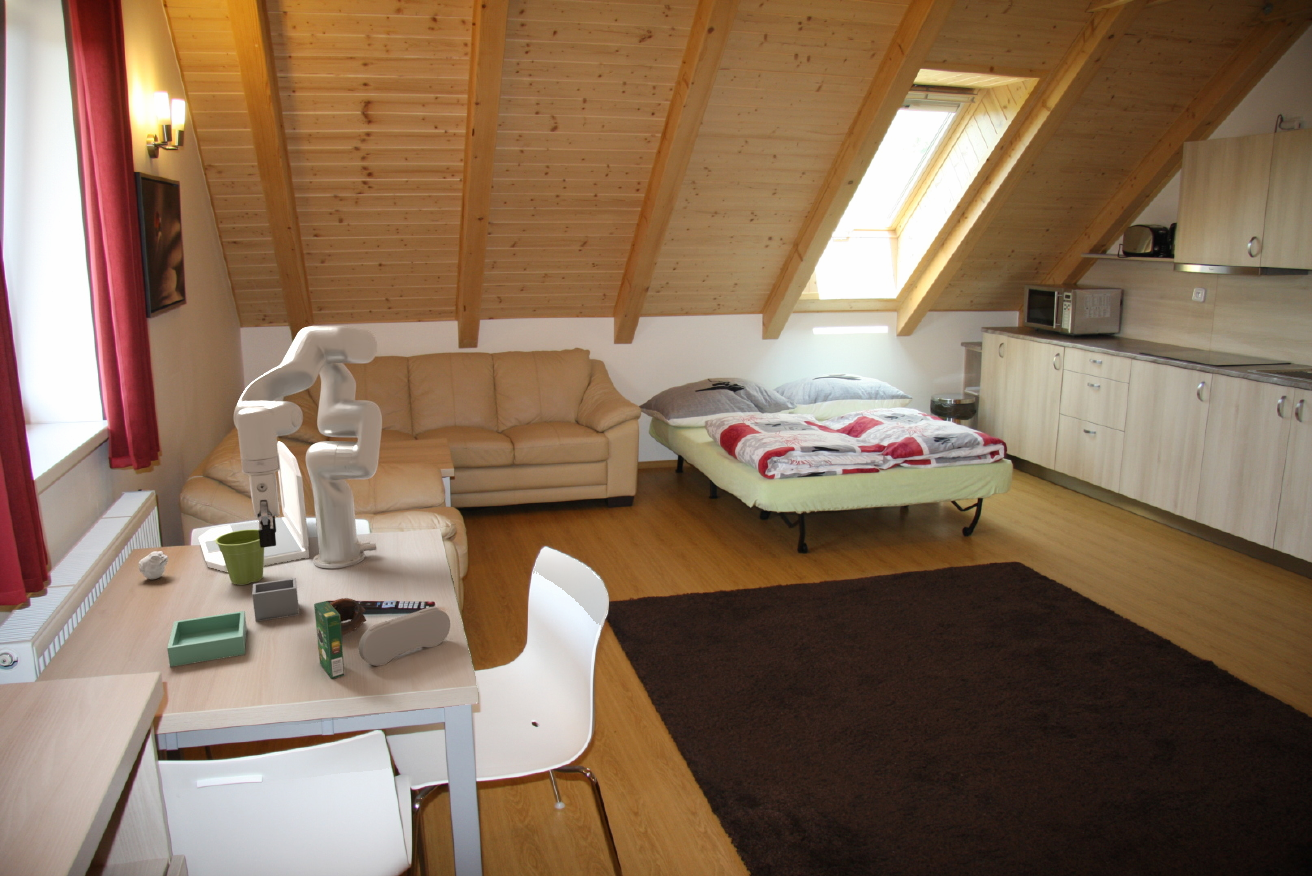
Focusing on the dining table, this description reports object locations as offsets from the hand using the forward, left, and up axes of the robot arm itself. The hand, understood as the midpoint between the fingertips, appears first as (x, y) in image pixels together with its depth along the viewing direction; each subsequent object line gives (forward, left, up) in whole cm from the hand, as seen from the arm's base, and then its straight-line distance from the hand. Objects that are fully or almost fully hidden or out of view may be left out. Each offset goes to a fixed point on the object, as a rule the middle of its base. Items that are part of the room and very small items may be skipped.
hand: (268, 539), depth 202 cm
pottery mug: (-13, +15, -18) cm, 27 cm away
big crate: (+13, +13, -17) cm, 25 cm away
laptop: (+6, -49, -18) cm, 53 cm away
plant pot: (+7, -24, -18) cm, 31 cm away
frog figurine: (+28, -34, -18) cm, 48 cm away
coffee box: (-10, +34, -18) cm, 39 cm away
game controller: (-25, +32, -18) cm, 44 cm away
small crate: (0, 0, -18) cm, 18 cm away
